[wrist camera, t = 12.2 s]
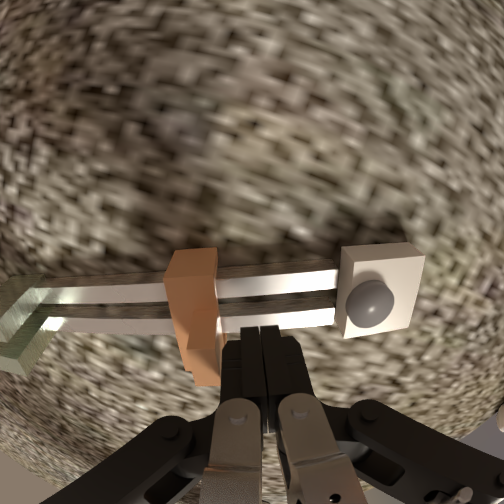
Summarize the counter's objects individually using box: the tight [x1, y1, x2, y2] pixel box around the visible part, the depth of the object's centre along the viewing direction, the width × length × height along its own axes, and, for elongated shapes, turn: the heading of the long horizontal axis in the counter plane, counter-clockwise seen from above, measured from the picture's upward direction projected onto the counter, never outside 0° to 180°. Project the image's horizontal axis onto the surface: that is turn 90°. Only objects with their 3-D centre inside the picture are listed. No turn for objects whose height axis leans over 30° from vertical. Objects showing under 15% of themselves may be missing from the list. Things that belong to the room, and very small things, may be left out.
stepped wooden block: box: [163, 247, 227, 386], centre depth 12 cm, size 2×5×5 cm, turn 3°
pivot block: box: [334, 242, 425, 339], centre depth 14 cm, size 4×4×2 cm
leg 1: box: [0, 259, 339, 343], centre depth 12 cm, size 19×1×5 cm, turn 93°
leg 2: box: [0, 296, 335, 377], centre depth 13 cm, size 19×1×5 cm, turn 92°
